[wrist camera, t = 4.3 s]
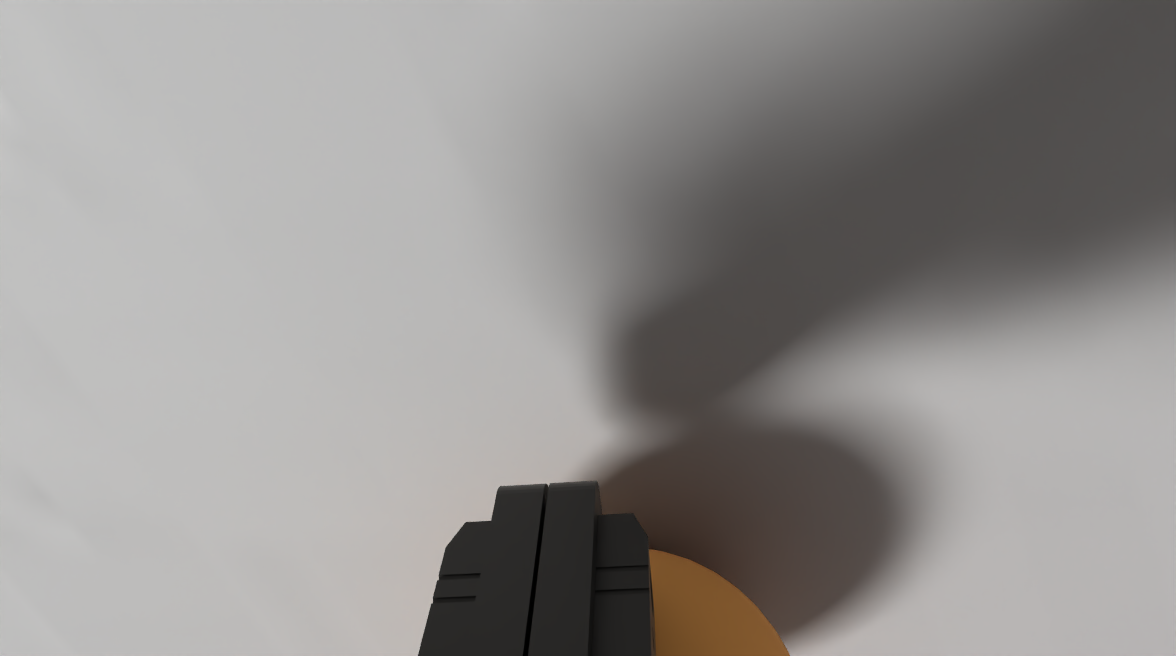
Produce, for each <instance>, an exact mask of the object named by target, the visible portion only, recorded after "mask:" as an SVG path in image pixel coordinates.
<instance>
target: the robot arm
mask: <svg viewBox="0 0 1176 656" xmlns="http://www.w3.org/2000/svg"><path fill="white" fill-rule="evenodd" d="M418 656H656V645H655V617H654V602H653V590H652V579H651V568H650V557H649V546H648V537H647V535H646V533H645V532H644V530H643V529H642V527H641V525H640V524H639V522H638V521H637V519H636V517H635V516H634V514H633V513H630V514H611V515H602V508H601V499H600V491H599V485H598V481H584V482H566V483H550V485H549V487H548V485H547V484H533V485H515V486H500V487H499V488H498V491H497V495H496V500H495V505H494V510H493V515H492V520H491V521H480V522H466V523H465V524H464V525H463V526H462V528H461V529H460V530H459V531H458V533H457V534H456V535H455V536H454V538H453V539H452V540H451V541H450V543H449V544H448V545H447V547H446V549H445V553H444V557H443V561H442V564H441V568H440V572H439V580H437V584H436V588H435V592H434V596H433V604H431V607H430V611H429V615H428V619H427V623H426V627H425V630H424V634H423V638H422V642H421V646H420V650H419V654H418Z"/></svg>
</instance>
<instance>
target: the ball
mask: <svg viewBox="0 0 1176 656" xmlns="http://www.w3.org/2000/svg"><path fill="white" fill-rule="evenodd" d="M649 557H650V568H651V579H652V590H653V602H654V617H655V645H656V656H790V655H789V653H788V651H787V649H786V647H785V645H784V644H783V642H782V640H781V638H780V637H779V635H778V633H777V632H776V630H775V629H774V627H773V626H772V625H771V624H770V622H769V621H768V620H767V619H766V617H765V616H764V615H763V614H762V612H761V611H760V610H759V609H758V607H757V606H756V605H755V604H754V603H753V602H752V601H751V600H750V599H749V598H748V597H747V596H746V595H744V594H743V593H742V592H741V591H740V590H739V589H738V588H737V587H735V586H734V585H733V584H731V583H730V582H729V581H727V580H726V579H724V578H723V577H721V576H720V575H719V574H717V573H715V572H714V571H712V570H710V569H708V568H706V567H704V566H702V565H700V564H698V563H696V562H694V561H692V560H689V559H687V558H683V557H680V556H677V555H674V554H670V553H667V552H663V551H658V550H652V549H649Z"/></svg>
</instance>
